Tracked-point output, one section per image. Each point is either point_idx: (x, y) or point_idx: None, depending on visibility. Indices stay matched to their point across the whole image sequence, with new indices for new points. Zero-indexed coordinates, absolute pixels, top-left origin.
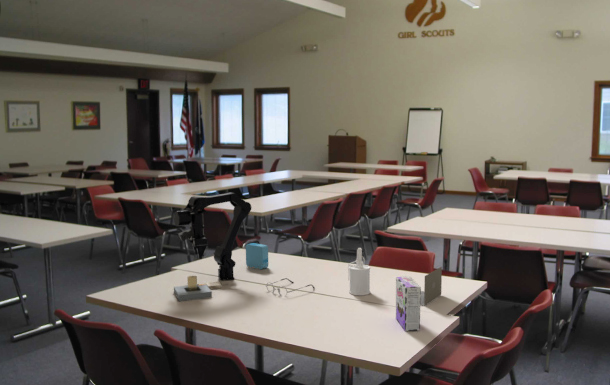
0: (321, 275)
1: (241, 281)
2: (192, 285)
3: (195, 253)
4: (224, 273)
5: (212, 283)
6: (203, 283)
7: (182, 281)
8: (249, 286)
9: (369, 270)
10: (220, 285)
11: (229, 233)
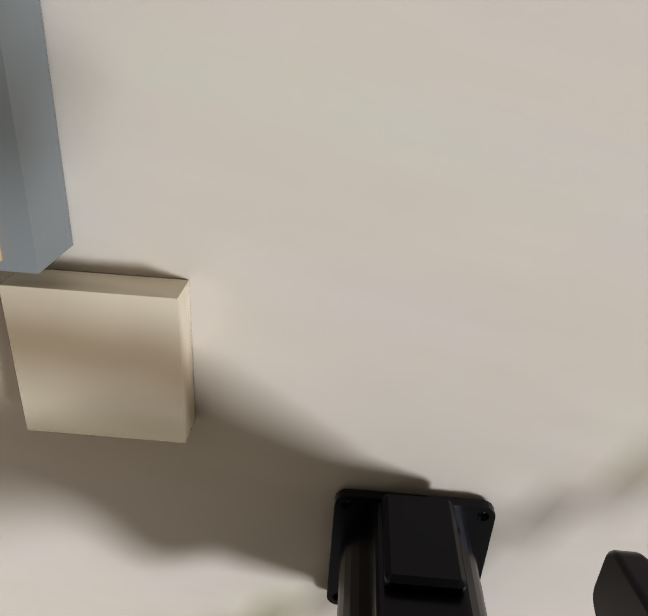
0: None
1: (223, 611)
2: None
3: (622, 582)
4: (351, 581)
5: (117, 363)
6: (30, 250)
7: (605, 35)
8: (29, 609)
9: None
10: (29, 416)
11: None
